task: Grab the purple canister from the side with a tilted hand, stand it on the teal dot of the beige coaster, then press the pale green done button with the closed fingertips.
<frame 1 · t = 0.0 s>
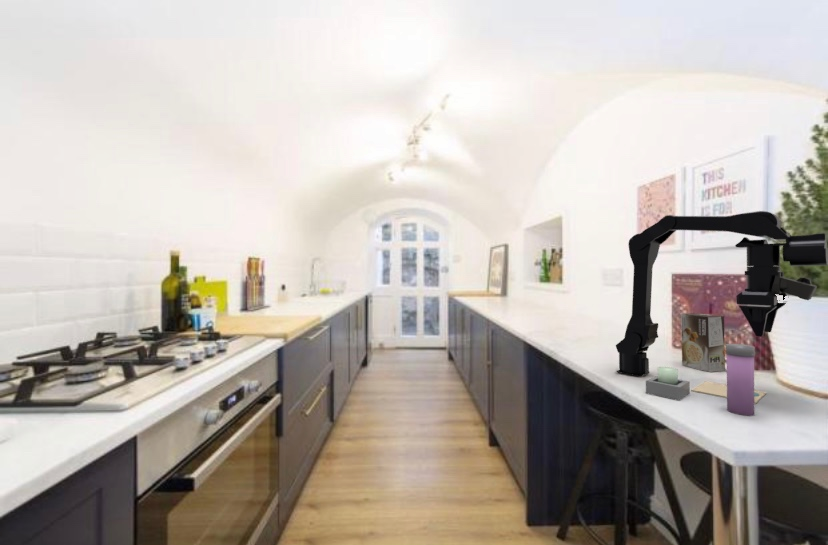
hand: (763, 334, 89), 15 cm above the counter, tool pointing down, fingers open, 9 cm apart
coffee box: (702, 368, 117), on the counter
done button: (667, 376, 93), point 4 cm above the counter, slide at 0.0 cm
beige coaster: (728, 392, 94), on the counter
lemon: (739, 373, 111), on the counter
button housing: (667, 393, 93), on the counter
purple canister: (740, 411, 81), on the counter
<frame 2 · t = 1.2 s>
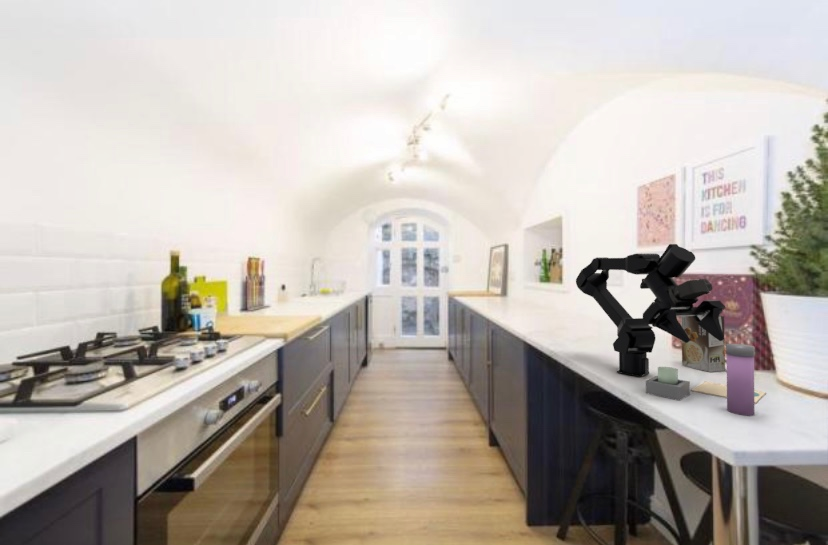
hand: (705, 340, 89), 13 cm above the counter, tool tilted 45°, fingers open, 9 cm apart
nothing on the counter moved.
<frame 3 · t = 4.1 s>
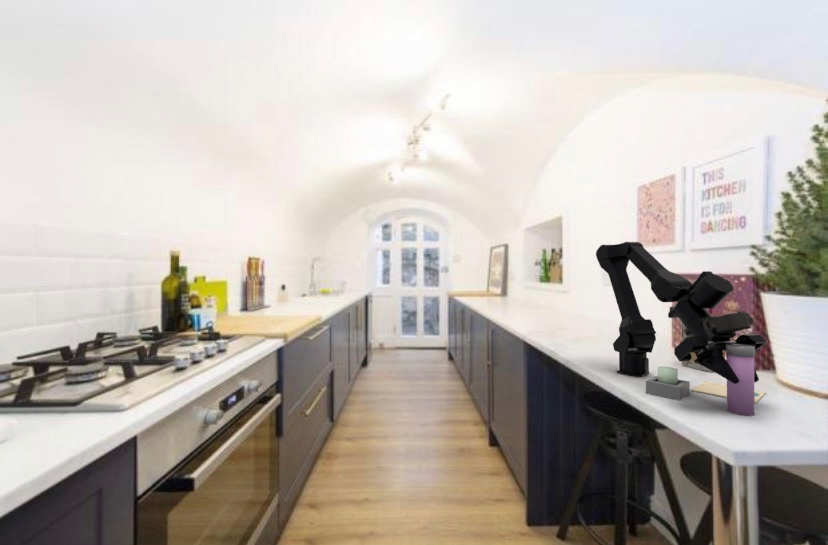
hand: (747, 382, 80), 7 cm above the counter, tool tilted 45°, fingers closed on purple canister, 4 cm apart
purple canister: (740, 411, 81), on the counter, touching gripper
everything else where it was.
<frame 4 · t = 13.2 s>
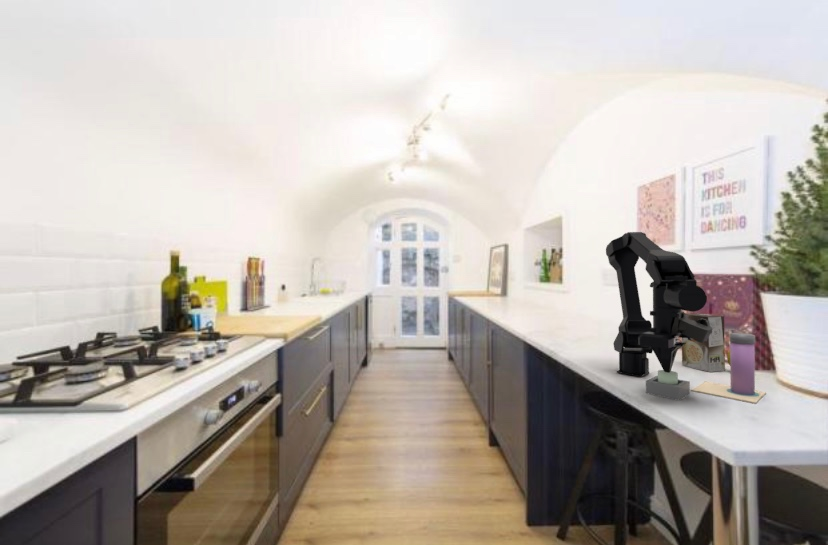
hand: (667, 372, 93), 5 cm above the counter, tool pointing down, fingers closed, pressing on done button
done button: (667, 380, 93), point 3 cm above the counter, slide at 0.8 cm, touching gripper
purple canister: (742, 392, 92), resting on beige coaster
everything else where it was.
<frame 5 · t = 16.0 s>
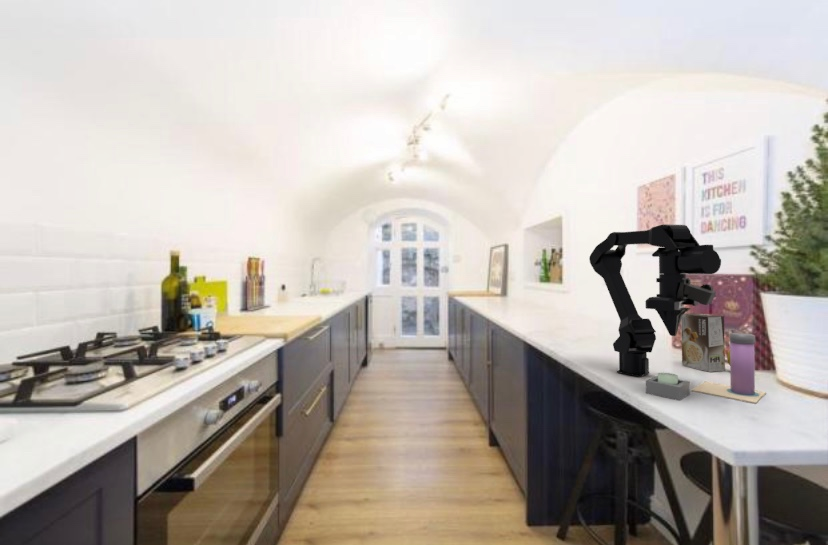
hand: (673, 335, 98), 13 cm above the counter, tool pointing down, fingers closed
done button: (667, 383, 93), point 3 cm above the counter, slide at 1.5 cm
everything else where it was.
at the end: purple canister inside the target area on the beige coaster (2.7 cm from its centre), point 0.3 cm above the beige coaster's base; purple canister tilted 0°; done button slide at 1.5 cm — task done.
